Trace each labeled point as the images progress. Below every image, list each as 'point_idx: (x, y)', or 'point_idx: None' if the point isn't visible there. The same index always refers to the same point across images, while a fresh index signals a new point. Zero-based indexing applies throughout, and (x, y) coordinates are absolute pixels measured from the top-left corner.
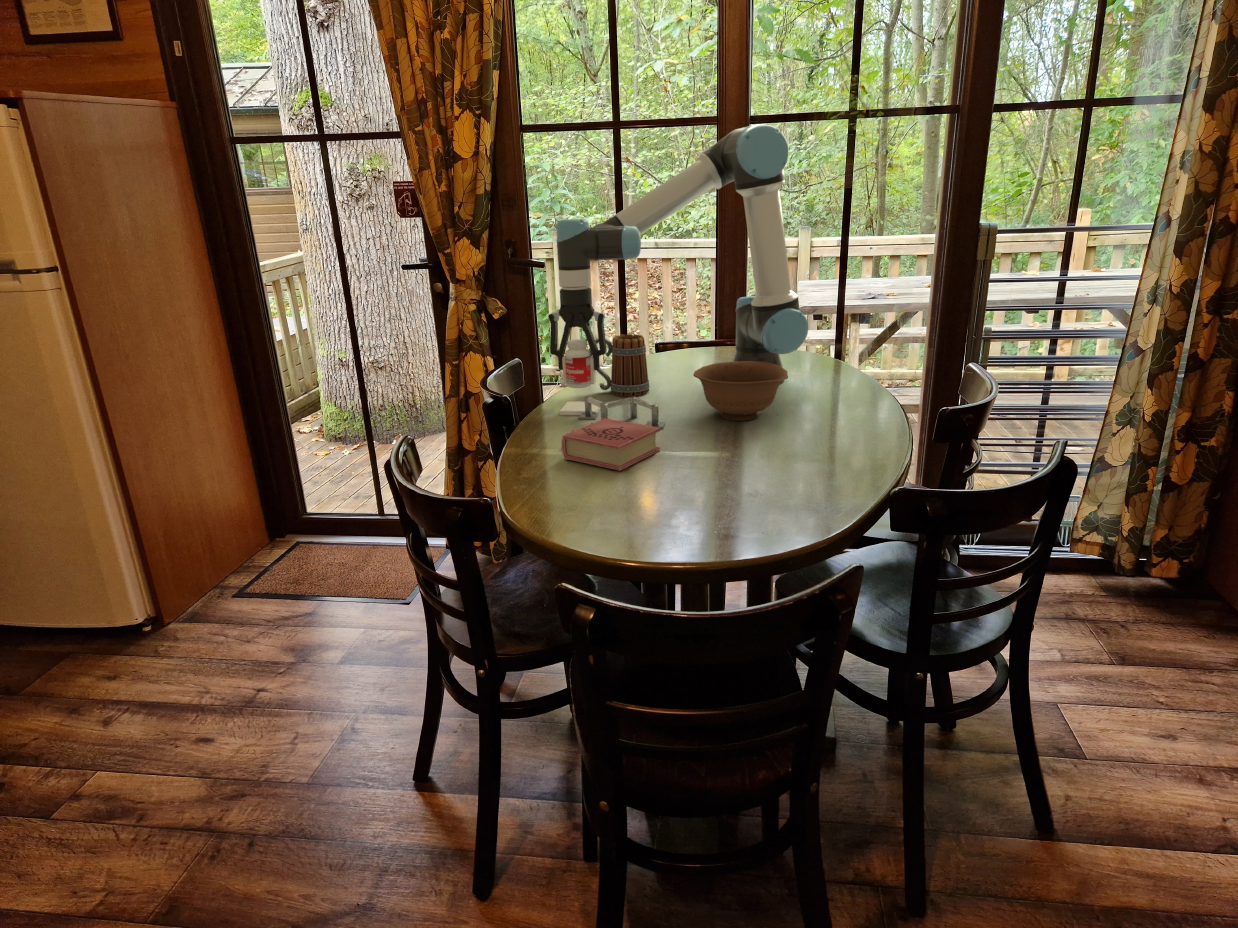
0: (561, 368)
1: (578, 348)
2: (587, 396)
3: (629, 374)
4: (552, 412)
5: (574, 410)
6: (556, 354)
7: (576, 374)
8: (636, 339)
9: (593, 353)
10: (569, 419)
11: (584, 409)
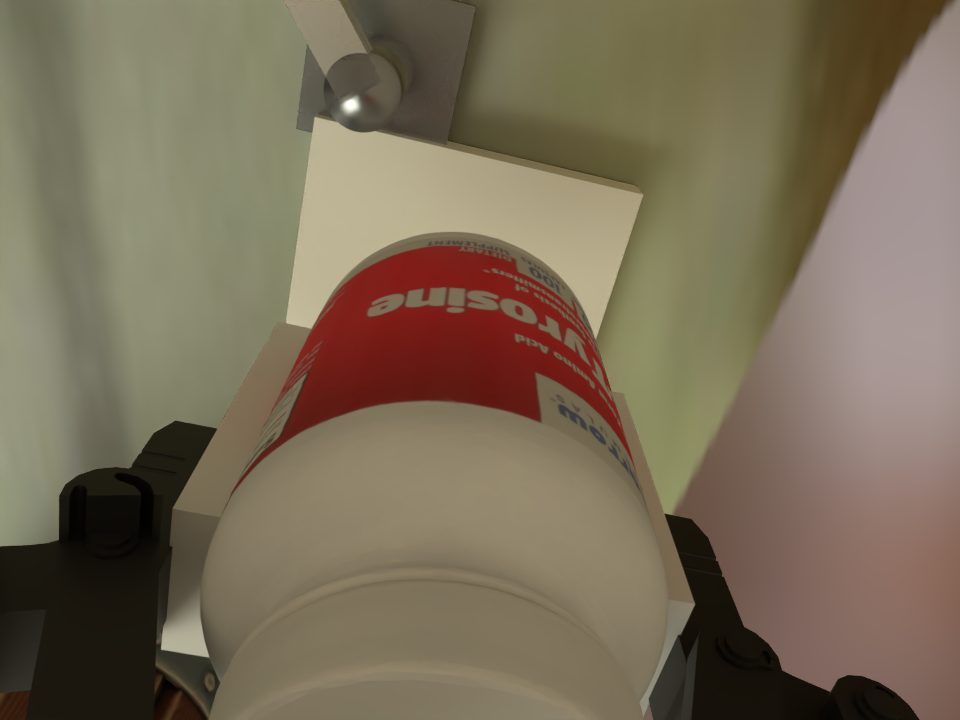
0: (671, 527)
1: (397, 569)
2: (365, 122)
3: (1, 715)
4: (689, 280)
5: (510, 191)
6: (792, 690)
7: (476, 289)
8: None
9: (132, 570)
10: (562, 27)
11: (420, 205)
